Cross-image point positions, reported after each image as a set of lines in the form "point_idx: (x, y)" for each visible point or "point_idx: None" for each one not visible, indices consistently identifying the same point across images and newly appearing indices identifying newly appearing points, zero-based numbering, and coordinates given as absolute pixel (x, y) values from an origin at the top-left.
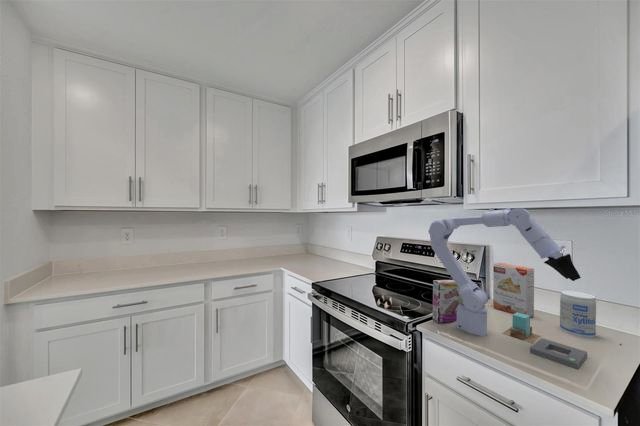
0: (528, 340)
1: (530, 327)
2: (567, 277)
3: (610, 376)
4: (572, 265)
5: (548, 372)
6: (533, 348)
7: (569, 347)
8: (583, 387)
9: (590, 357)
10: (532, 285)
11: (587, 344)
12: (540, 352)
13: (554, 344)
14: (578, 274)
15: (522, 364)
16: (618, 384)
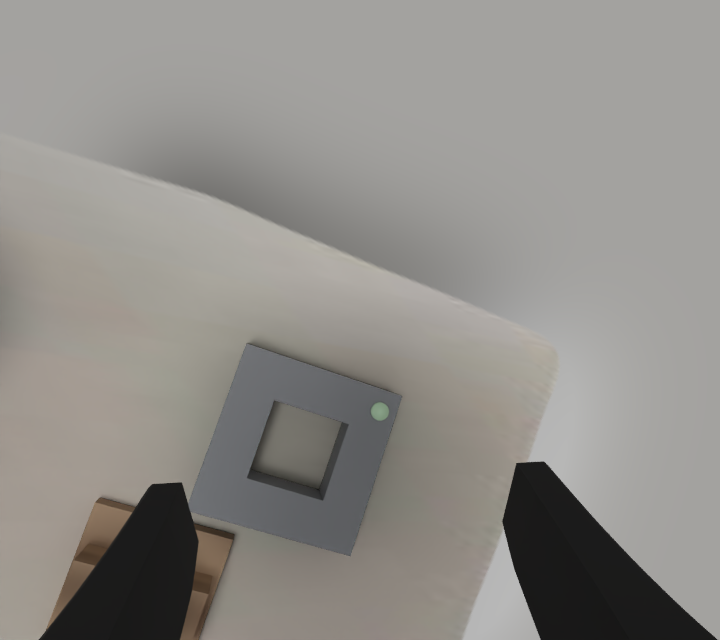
0: (204, 556)
1: (92, 567)
2: (190, 543)
3: (352, 297)
4: (701, 637)
5: (450, 482)
6: (351, 542)
7: (239, 404)
8: (489, 392)
9: (208, 325)
10: None
11: (38, 306)
12: (362, 515)
13: (242, 460)
14: (571, 497)
15: (442, 563)
16: (401, 289)
